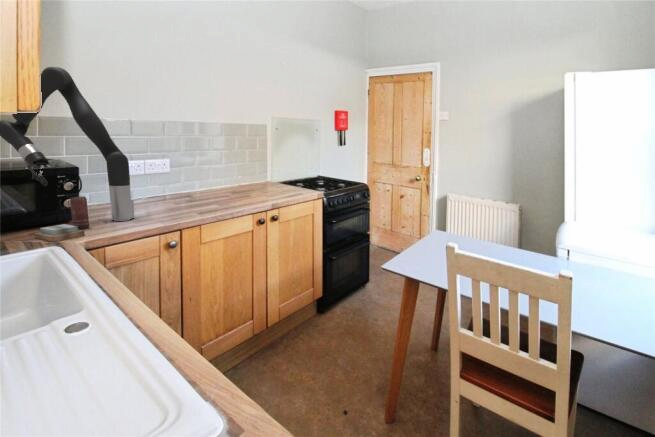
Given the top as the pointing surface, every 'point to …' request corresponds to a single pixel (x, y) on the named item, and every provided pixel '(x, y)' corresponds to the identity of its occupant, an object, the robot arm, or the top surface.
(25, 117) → the robot arm
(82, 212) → the can
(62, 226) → the stand
